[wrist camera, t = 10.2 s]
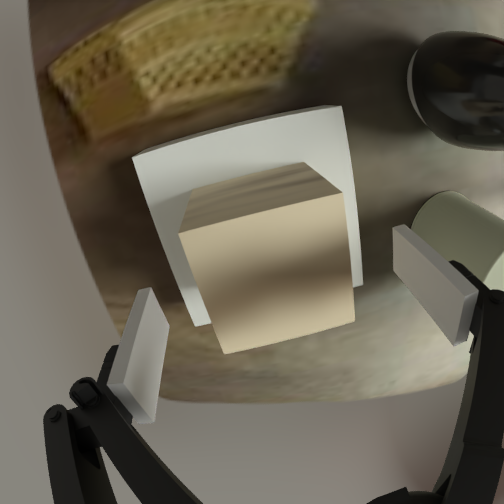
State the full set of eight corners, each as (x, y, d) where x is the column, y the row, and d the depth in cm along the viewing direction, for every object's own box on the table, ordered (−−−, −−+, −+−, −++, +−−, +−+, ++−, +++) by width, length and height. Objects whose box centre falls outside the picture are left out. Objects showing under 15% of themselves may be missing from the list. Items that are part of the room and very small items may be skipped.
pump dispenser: (377, 119, 25) (507, 151, 11) (401, 18, 20) (526, -13, 7) (458, 155, 26) (575, 207, 13) (479, 66, 22) (597, 78, 9)
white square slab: (144, 149, 24) (131, 157, 21) (324, 105, 24) (341, 106, 20) (197, 300, 31) (195, 326, 27) (348, 263, 31) (363, 284, 27)
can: (399, 270, 32) (460, 343, 21) (418, 185, 28) (502, 236, 17) (460, 269, 33) (521, 328, 22) (480, 195, 29) (557, 240, 18)
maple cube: (192, 189, 22) (178, 233, 15) (303, 161, 22) (342, 192, 15) (222, 284, 26) (224, 354, 19) (320, 259, 26) (355, 321, 18)
